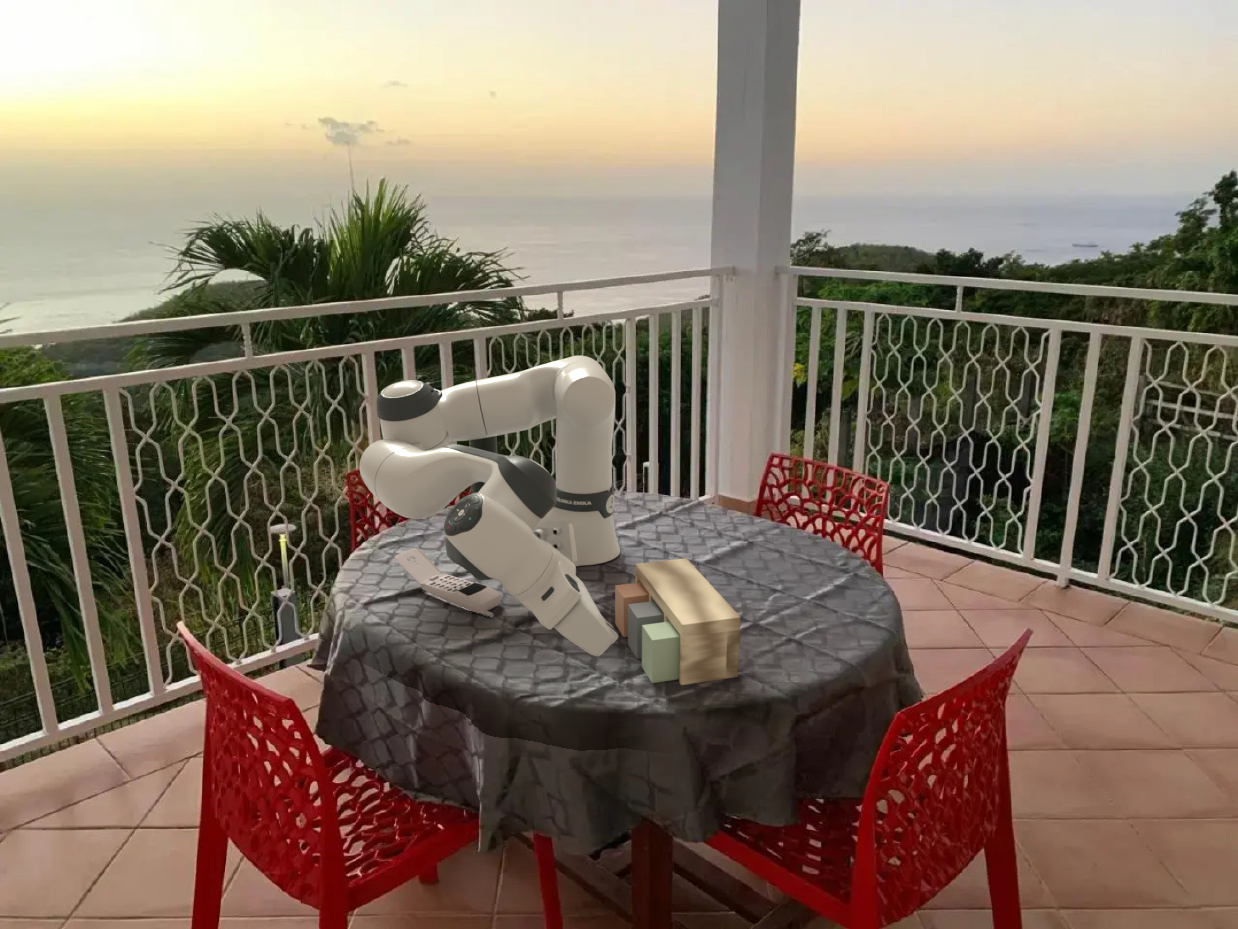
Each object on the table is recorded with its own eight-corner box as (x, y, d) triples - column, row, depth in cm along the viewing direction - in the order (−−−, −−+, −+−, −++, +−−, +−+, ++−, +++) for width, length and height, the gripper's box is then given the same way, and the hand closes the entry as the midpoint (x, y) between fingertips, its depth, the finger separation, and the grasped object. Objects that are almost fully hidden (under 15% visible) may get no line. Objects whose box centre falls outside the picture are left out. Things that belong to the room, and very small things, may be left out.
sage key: (651, 683, 133) (652, 640, 131) (641, 666, 138) (642, 625, 136) (696, 676, 135) (697, 634, 133) (685, 660, 140) (686, 619, 138)
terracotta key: (623, 637, 147) (623, 597, 145) (615, 623, 152) (615, 585, 150) (664, 631, 149) (664, 592, 147) (655, 618, 154) (655, 580, 152)
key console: (681, 686, 133) (682, 624, 130) (635, 618, 154) (635, 563, 151) (738, 678, 135) (740, 617, 132) (685, 611, 157) (686, 558, 154)
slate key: (637, 659, 140) (637, 618, 138) (627, 644, 145) (627, 604, 143) (679, 653, 142) (680, 612, 140) (669, 638, 147) (670, 599, 145)
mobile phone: (416, 546, 171) (511, 578, 156) (418, 574, 173) (513, 609, 158) (390, 556, 167) (485, 590, 152) (393, 585, 168) (488, 622, 154)
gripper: (517, 569, 136) (581, 620, 141) (543, 630, 117) (616, 687, 122) (546, 538, 136) (609, 591, 141) (577, 594, 117) (648, 653, 122)
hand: (612, 636), depth 131 cm, fingers closed
